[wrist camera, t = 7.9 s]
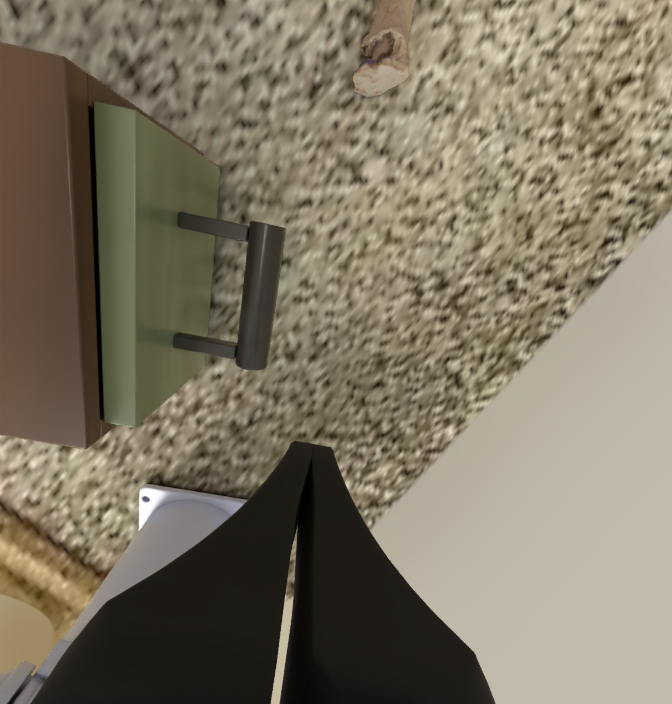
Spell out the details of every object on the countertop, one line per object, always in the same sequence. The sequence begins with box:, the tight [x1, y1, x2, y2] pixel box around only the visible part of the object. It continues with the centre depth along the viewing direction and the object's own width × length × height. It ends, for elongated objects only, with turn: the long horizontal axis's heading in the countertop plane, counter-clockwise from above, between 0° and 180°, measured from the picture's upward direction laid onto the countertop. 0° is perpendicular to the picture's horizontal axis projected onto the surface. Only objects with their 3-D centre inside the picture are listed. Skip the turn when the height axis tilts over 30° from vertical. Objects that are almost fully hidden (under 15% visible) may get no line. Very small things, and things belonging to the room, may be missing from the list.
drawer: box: [90, 102, 286, 427], centre depth 14 cm, size 17×10×7 cm, turn 79°
